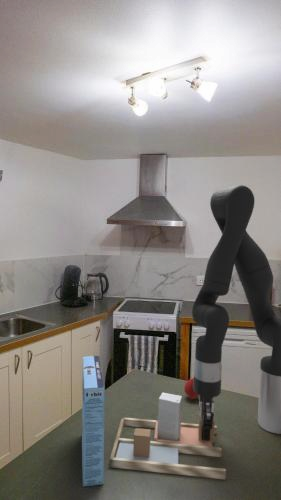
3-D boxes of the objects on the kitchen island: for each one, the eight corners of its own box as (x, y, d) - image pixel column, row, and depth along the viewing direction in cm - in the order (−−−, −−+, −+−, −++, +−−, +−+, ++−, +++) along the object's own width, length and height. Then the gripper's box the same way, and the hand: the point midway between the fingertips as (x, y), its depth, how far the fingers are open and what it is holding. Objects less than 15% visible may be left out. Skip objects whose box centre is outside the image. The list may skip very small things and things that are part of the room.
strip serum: (211, 433, 95) (212, 411, 94) (214, 452, 86) (215, 428, 86) (155, 428, 97) (156, 406, 96) (153, 446, 88) (154, 422, 88)
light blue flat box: (103, 485, 75) (105, 387, 73) (80, 487, 74) (82, 388, 73) (99, 433, 94) (100, 355, 93) (81, 434, 93) (82, 355, 92)
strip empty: (177, 452, 86) (178, 427, 86) (178, 470, 80) (179, 444, 79) (119, 446, 88) (120, 422, 88) (115, 463, 81) (115, 437, 81)
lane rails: (216, 432, 96) (216, 425, 96) (225, 479, 77) (226, 471, 77) (121, 423, 99) (122, 417, 99) (109, 467, 80) (109, 459, 80)
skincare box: (180, 436, 93) (182, 395, 92) (177, 445, 89) (180, 403, 88) (159, 431, 95) (162, 391, 94) (156, 440, 91) (158, 398, 90)
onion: (200, 395, 117) (201, 373, 117) (201, 404, 112) (202, 381, 111) (183, 394, 118) (184, 372, 117) (184, 402, 112) (185, 379, 112)
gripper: (225, 387, 82) (222, 453, 83) (218, 365, 96) (215, 422, 97) (195, 385, 83) (192, 450, 84) (192, 363, 97) (190, 419, 98)
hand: (204, 435), depth 91 cm, fingers closed on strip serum, 3 cm apart
